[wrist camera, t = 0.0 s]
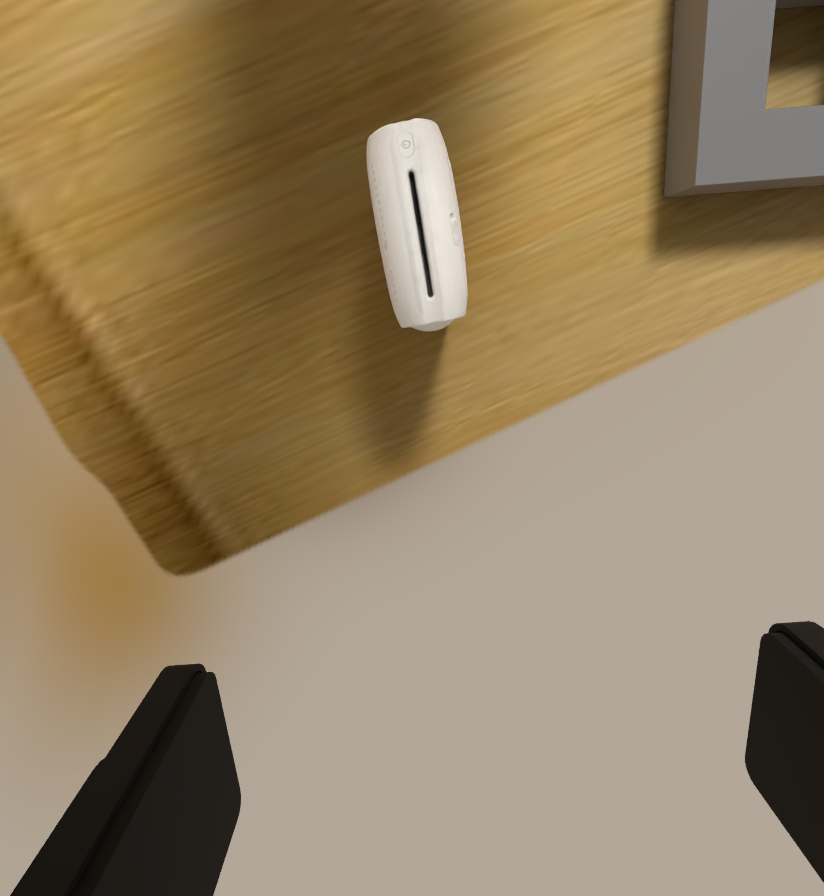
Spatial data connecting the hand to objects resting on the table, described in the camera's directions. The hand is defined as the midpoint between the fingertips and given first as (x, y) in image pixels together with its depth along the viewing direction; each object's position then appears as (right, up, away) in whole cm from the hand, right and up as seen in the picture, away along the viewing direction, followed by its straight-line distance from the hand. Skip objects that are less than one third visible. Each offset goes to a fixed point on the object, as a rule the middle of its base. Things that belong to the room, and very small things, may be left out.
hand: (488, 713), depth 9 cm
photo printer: (-1, +18, +27) cm, 33 cm away
